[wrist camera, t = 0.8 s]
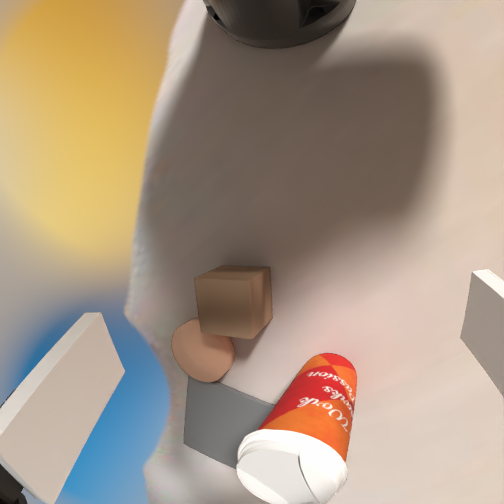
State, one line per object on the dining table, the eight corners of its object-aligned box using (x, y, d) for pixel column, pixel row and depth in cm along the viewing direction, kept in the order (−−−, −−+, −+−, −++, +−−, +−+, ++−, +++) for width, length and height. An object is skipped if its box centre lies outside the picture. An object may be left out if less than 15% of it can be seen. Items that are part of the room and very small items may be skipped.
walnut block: (222, 265, 31) (194, 278, 27) (270, 266, 29) (248, 280, 25) (226, 313, 32) (200, 332, 27) (272, 317, 30) (252, 339, 25)
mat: (191, 370, 35) (188, 372, 35) (303, 415, 30) (301, 419, 30) (185, 441, 39) (183, 443, 38) (275, 481, 34) (273, 484, 34)
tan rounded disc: (183, 308, 34) (173, 314, 32) (240, 330, 32) (231, 338, 30) (179, 359, 36) (170, 366, 34) (230, 382, 34) (222, 391, 32)
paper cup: (381, 389, 27) (363, 502, 14) (317, 416, 30) (270, 517, 17) (341, 327, 27) (300, 428, 15) (276, 361, 31) (206, 453, 18)
